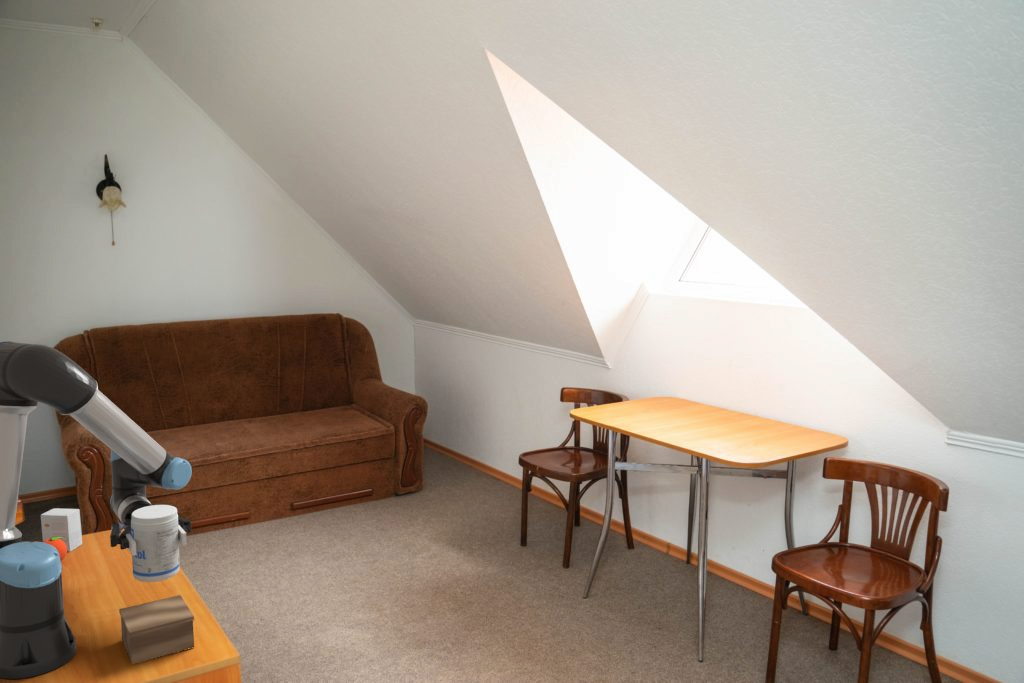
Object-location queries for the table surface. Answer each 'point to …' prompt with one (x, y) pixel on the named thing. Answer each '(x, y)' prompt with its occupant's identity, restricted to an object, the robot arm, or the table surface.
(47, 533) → the small box
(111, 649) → the table surface
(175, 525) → the supplement tub
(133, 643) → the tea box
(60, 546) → the clementine
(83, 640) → the table surface
